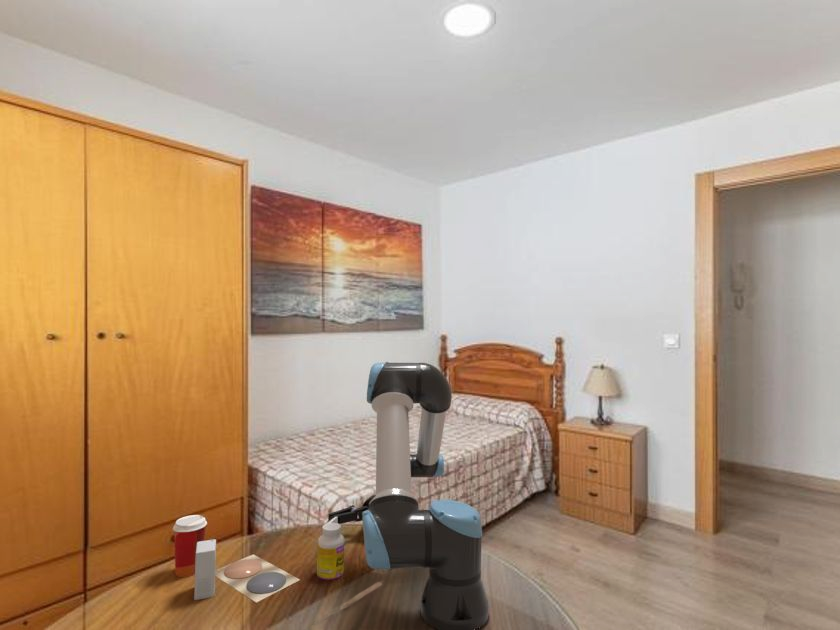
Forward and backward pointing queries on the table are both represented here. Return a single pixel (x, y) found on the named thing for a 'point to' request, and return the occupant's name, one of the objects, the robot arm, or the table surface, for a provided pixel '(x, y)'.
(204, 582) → the skincare box
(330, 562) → the supplement bottle
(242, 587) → the birch board
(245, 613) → the table surface
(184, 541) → the paper cup
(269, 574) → the slate pad
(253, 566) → the terracotta pad
